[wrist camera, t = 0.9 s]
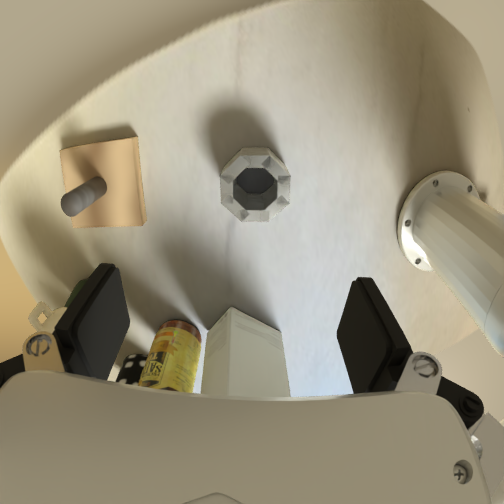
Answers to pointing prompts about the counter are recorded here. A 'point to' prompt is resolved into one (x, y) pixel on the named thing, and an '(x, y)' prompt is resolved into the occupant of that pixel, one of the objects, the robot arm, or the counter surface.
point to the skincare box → (244, 358)
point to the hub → (255, 204)
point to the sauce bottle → (173, 358)
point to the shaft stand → (103, 184)
